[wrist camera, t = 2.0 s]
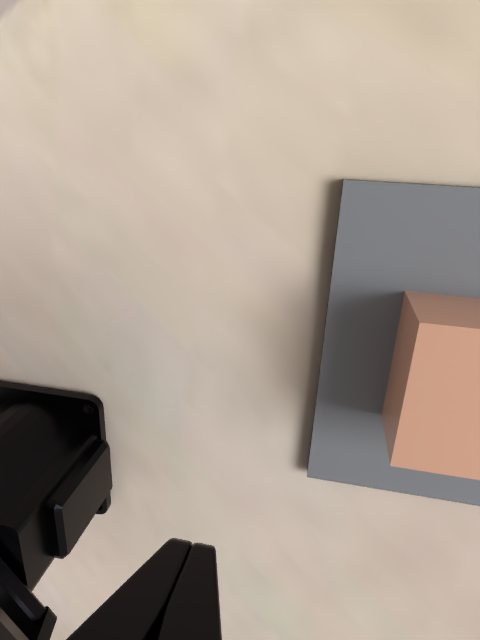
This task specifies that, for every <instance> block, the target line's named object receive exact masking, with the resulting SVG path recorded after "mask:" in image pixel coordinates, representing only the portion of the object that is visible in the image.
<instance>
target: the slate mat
mask: <svg viewBox="0 0 480 640" xmlns="http://www.w3.org/2000/svg"><path fill="white" fill-rule="evenodd" d="M405 291H410V292H420V293H430V294H441V295H451V296H461V297H471V298H480V187H470V186H453V185H436V184H419V183H402V182H385V181H368V180H351V179H343V186H342V194H341V203H340V211H339V219H338V227H337V235H336V243H335V251H334V260H333V268H332V276H331V284H330V292H329V300H328V308H327V316H326V325H325V333H324V341H323V349H322V357H321V365H320V373H319V382H318V390H317V398H316V406H315V414H314V422H313V430H312V439H311V447H310V455H309V463H308V472H307V477H310V478H316V479H322V480H328V481H334V482H340V483H346V484H352V485H357V486H363V487H369V488H375V489H381V490H387V491H393V492H399V493H405V494H411V495H417V496H423V497H429V498H435V499H441V500H447V501H453V502H459V503H465V504H471V505H477V506H480V480H475V479H469V478H463V477H456V476H450V475H444V474H437V473H431V472H425V471H419V470H412V469H406V468H400V467H393V466H390V462H389V457H388V451H387V445H386V439H385V433H384V427H383V421H382V410H383V404H384V399H385V394H386V388H387V383H388V378H389V372H390V367H391V362H392V356H393V351H394V346H395V340H396V335H397V330H398V324H399V319H400V314H401V308H402V303H403V298H404V292H405Z"/></svg>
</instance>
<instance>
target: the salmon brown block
mask: <svg viewBox="0 0 480 640" xmlns="http://www.w3.org/2000/svg"><path fill="white" fill-rule="evenodd" d="M382 421H383V427H384V433H385V439H386V445H387V451H388V457H389V462H390V466H393V467H400V468H406V469H412V470H419V471H425V472H431V473H437V474H444V475H450V476H456V477H463V478H469V479H475V480H480V298H471V297H461V296H451V295H441V294H430V293H420V292H410V291H405V292H404V298H403V303H402V308H401V314H400V319H399V324H398V330H397V335H396V340H395V346H394V351H393V356H392V362H391V367H390V372H389V378H388V383H387V388H386V394H385V399H384V404H383V410H382Z"/></svg>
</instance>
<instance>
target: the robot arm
mask: <svg viewBox="0 0 480 640" xmlns="http://www.w3.org/2000/svg"><path fill="white" fill-rule="evenodd" d="M88 405H91V406H92V407H93V409H94V410H93V409H91V408H90V407H89V406H88ZM111 489H112V474H111V461H110V448H109V445H108V443H107V441H106V433H105V421H104V408H103V403H102V401H101V400H100V399H99V398H98V397H96V396H94V395H89V394H82V393H75V392H69V391H62V390H55V389H49V388H42V387H35V386H29V385H22V384H15V383H9V382H2V381H0V640H50V637H51V634H52V631H53V629H54V626H55V623H56V620H57V616H56V615H55V614H54V613H53V612H52V611H51V609H50V608H49V607H48V606H46V607H44V606H43V605H42V603H41V602H40V601H39V600H38V599H37V598H36V596H35V595H34V594H33V593H32V591H33V589H34V588H35V586H36V585H37V583H38V582H39V580H40V579H41V577H42V576H43V574H44V573H45V571H46V570H47V568H48V567H49V566H50V564H51V563H52V561H53V560H54V558H60V559H63V558H64V557H66V556H67V555H68V554H69V553H70V552H71V550H72V549H73V547H74V546H75V544H76V543H77V541H78V540H79V538H80V536H81V535H82V533H83V532H84V530H85V529H86V527H87V526H88V524H89V523H90V521H91V520H92V518H93V517H94V515H95V514H104V513H106V511H107V510H108V508H109V507H110V505H111V496H110V490H111ZM66 640H222V634H221V620H220V605H219V591H218V577H217V563H216V550H215V547H214V546H212V545H207V544H202V543H194V544H192V543H191V542H190V541H187V540H182V539H177V538H172V539H170V540H168V541H167V542H166V543H165V544H164V545H163V546H162V547H161V548H160V549H159V550H158V551H157V552H156V553H155V554H154V555H153V556H152V557H151V558H150V559H149V560H148V561H146V562H145V563H144V564H143V565H142V566H141V567H140V568H139V569H138V570H137V571H136V572H135V573H134V574H133V575H132V576H131V577H130V578H129V579H128V580H127V581H126V582H125V583H124V584H123V585H122V586H121V587H120V588H119V589H118V590H117V591H116V592H115V593H114V594H113V595H112V596H111V597H110V598H108V599H107V600H106V601H105V602H104V603H103V604H102V605H101V606H100V607H99V608H98V609H97V610H96V611H95V612H94V613H93V614H92V615H91V616H90V617H89V618H88V619H87V620H86V621H85V622H84V623H83V624H82V625H81V626H80V627H79V628H78V629H77V630H76V631H75V632H74V633H73V634H71V635H70V636H69V637H68V638H67V639H66Z"/></svg>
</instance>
